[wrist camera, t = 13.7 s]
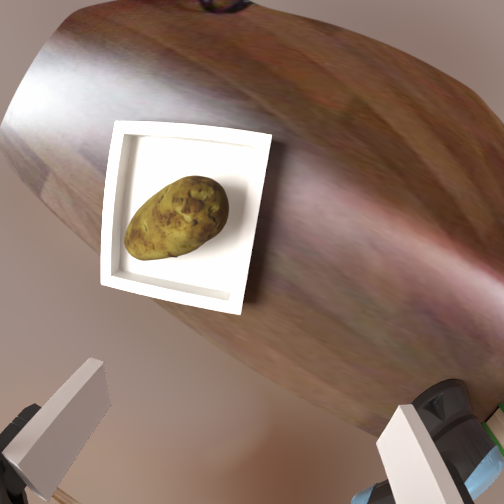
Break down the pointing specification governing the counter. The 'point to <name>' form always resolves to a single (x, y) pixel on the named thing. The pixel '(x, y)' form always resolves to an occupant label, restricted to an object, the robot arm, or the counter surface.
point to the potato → (177, 219)
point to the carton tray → (166, 172)
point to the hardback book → (496, 428)
